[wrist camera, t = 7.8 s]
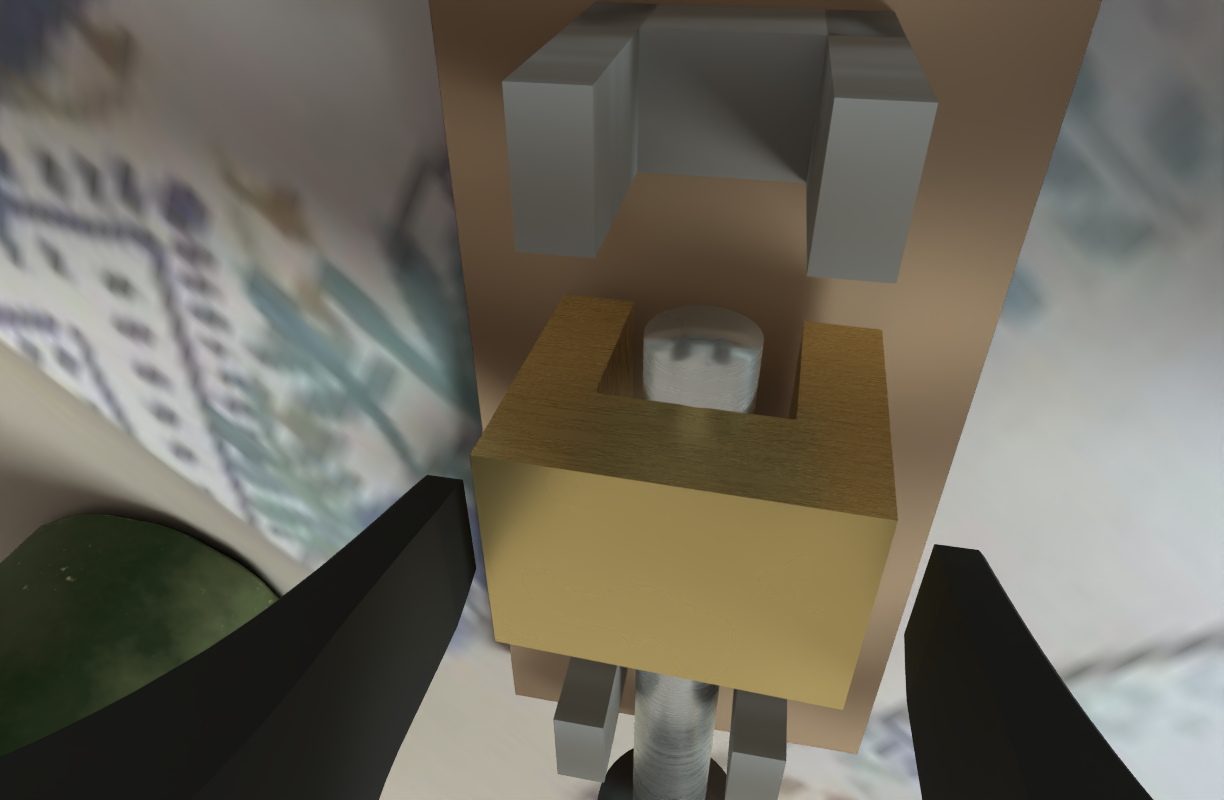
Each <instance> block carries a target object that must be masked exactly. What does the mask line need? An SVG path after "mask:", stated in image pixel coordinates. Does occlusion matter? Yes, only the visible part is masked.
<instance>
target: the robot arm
mask: <svg viewBox="0 0 1224 800" xmlns="http://www.w3.org/2000/svg"><path fill="white" fill-rule="evenodd" d="M475 571H476V563H475V557H474V550H473V543H472V537H471V530H470V524H469V517H468V510H467V504H466V497H465V490H464V484H463V480H460V479H453V478H445V477H438V476H431V475H427V476H425V477H424V478H423V479H422V480H420V481H419V482H418V483H417V484H416V485H415V486H413V487H412V488H411V489H410V490H409V491H408V492H407V493H405V494H404V495H403V496H402V497H401V498H400V499H399V500H398V501H396V502H395V503H394V504H393V505H392V506H391V507H390V508H389V509H387V510H386V511H385V512H384V513H383V514H382V515H381V516H380V517H378V518H377V519H376V520H375V521H374V522H373V523H372V524H370V525H369V526H368V527H367V528H366V529H365V530H364V531H362V532H361V533H360V534H359V535H358V536H357V537H355V538H354V539H353V540H352V541H351V542H349V543H348V544H347V545H346V546H345V547H344V548H342V549H341V550H340V551H339V552H338V553H336V554H335V555H334V556H333V557H332V558H330V559H329V560H328V561H327V562H326V563H325V564H323V565H322V566H321V567H320V568H318V569H317V570H316V571H315V572H313V573H312V574H311V575H310V576H308V577H307V578H306V579H304V580H303V581H302V582H300V583H299V584H298V585H297V586H295V587H294V588H293V589H291V590H290V591H289V592H287V593H286V594H285V595H284V596H282V597H281V598H280V599H278V600H277V601H276V602H275V603H273V604H272V605H270V606H269V607H268V608H266V609H265V610H264V611H262V612H261V613H259V614H258V615H257V616H255V617H254V618H252V619H251V620H250V621H248V622H247V623H245V624H244V625H242V626H241V627H239V628H238V629H237V630H235V631H233V632H232V633H230V634H229V635H227V636H226V637H224V638H223V639H221V640H220V641H218V642H217V643H215V644H214V645H212V646H211V647H209V648H208V649H206V650H204V651H203V652H201V653H200V654H198V655H196V656H195V657H193V658H191V659H189V660H188V661H186V662H184V663H183V664H181V665H179V666H177V667H176V668H174V669H172V670H170V671H169V672H167V673H165V674H164V675H162V676H160V677H158V678H157V679H155V680H153V681H152V682H150V683H148V684H146V685H145V686H143V687H141V688H139V689H138V690H136V691H134V692H132V693H131V694H129V695H127V696H125V697H123V698H121V699H119V700H117V701H115V702H114V703H112V704H110V705H108V706H106V707H104V708H102V709H100V710H98V711H96V712H94V713H92V714H90V715H88V716H86V717H84V718H82V719H80V720H78V721H76V722H74V723H72V724H70V725H68V726H66V727H64V728H62V729H60V730H58V731H56V732H54V733H52V734H50V735H47V736H45V737H43V738H41V739H39V740H37V741H35V742H33V743H30V744H28V745H26V746H23V747H21V748H19V749H17V750H14V751H12V752H10V753H7V754H5V755H3V756H1V757H0V800H379V798H380V795H381V792H382V790H383V787H384V784H385V781H386V779H387V776H388V774H389V772H390V769H391V767H392V765H393V762H394V760H395V758H396V755H397V753H398V751H399V748H400V746H401V744H402V742H403V740H404V738H405V736H406V734H407V732H408V730H409V727H410V725H411V723H412V721H413V719H414V717H415V715H416V713H417V711H418V709H419V706H420V704H421V702H422V700H423V698H424V696H425V694H426V692H427V690H428V688H429V685H430V683H431V681H432V679H433V677H434V675H435V673H436V671H437V669H438V666H439V664H440V662H441V660H442V658H443V656H444V654H445V652H446V649H447V647H448V645H449V643H450V641H451V639H452V636H453V634H454V632H455V630H456V628H457V625H458V622H459V620H460V617H461V614H462V611H463V608H464V605H465V602H466V599H467V596H468V593H469V590H470V586H471V583H472V580H473V577H474V574H475ZM904 642H905V674H906V695H907V706H908V712H909V719H910V726H911V732H912V738H913V745H914V751H915V757H916V763H917V770H918V776H919V782H920V788H921V794H922V800H1153V799H1152V797H1151V796H1150V795H1149V794H1148V793H1147V792H1146V790H1145V789H1144V788H1143V787H1142V785H1141V784H1140V783H1139V782H1138V781H1137V779H1136V778H1135V777H1134V776H1133V774H1132V773H1131V772H1130V771H1129V769H1128V768H1127V767H1126V766H1125V764H1124V763H1123V762H1122V761H1121V759H1120V758H1119V757H1118V755H1117V754H1116V753H1115V752H1114V750H1113V749H1112V748H1111V746H1110V745H1109V744H1108V742H1107V741H1106V740H1105V738H1104V737H1103V736H1102V734H1101V733H1100V732H1099V730H1098V729H1097V728H1096V726H1095V725H1094V724H1093V723H1092V721H1091V720H1090V719H1089V717H1088V716H1087V714H1086V713H1085V712H1084V710H1083V709H1082V707H1081V706H1080V705H1079V703H1078V702H1077V701H1076V699H1075V698H1074V696H1073V695H1072V694H1071V692H1070V691H1069V689H1068V688H1067V686H1066V685H1065V683H1064V682H1063V680H1062V679H1061V677H1060V676H1059V675H1058V673H1057V672H1056V670H1055V669H1054V667H1053V666H1052V664H1051V663H1050V661H1049V660H1048V658H1047V657H1046V655H1045V654H1044V653H1043V651H1042V650H1041V648H1040V646H1039V645H1038V643H1037V642H1036V640H1035V639H1034V637H1033V636H1032V634H1031V633H1030V631H1029V629H1028V628H1027V626H1026V625H1025V623H1024V621H1023V620H1022V618H1021V617H1020V615H1019V614H1018V612H1017V610H1016V609H1015V607H1014V605H1013V604H1012V602H1011V601H1010V599H1009V597H1008V596H1007V594H1006V592H1005V591H1004V589H1003V587H1002V586H1001V584H1000V582H999V581H998V579H997V577H996V576H995V574H994V572H993V571H992V569H991V567H990V566H989V564H988V562H987V560H986V559H985V557H984V556H983V555H982V553H981V552H980V551H979V550H974V549H967V548H959V547H952V546H945V545H937V544H934V547H933V550H932V553H931V556H930V559H929V562H928V565H927V568H926V571H925V574H924V577H923V580H922V583H921V586H920V589H919V592H918V595H917V598H916V601H915V604H914V607H913V610H912V613H911V616H910V619H909V622H908V625H907V628H906V631H905V634H904Z"/></svg>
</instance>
